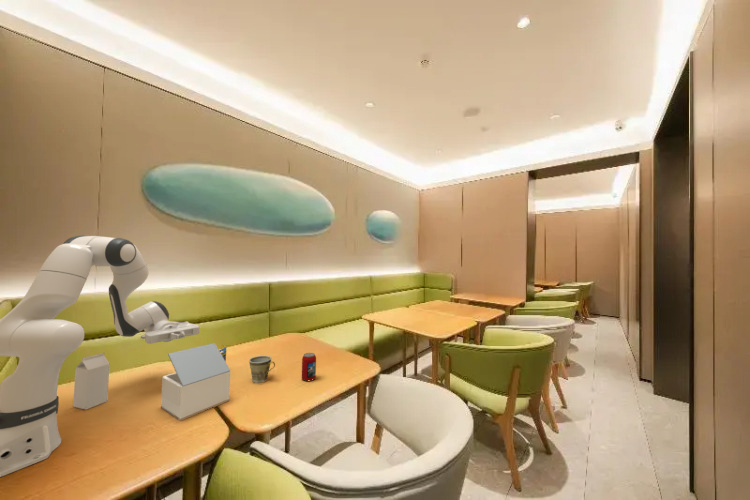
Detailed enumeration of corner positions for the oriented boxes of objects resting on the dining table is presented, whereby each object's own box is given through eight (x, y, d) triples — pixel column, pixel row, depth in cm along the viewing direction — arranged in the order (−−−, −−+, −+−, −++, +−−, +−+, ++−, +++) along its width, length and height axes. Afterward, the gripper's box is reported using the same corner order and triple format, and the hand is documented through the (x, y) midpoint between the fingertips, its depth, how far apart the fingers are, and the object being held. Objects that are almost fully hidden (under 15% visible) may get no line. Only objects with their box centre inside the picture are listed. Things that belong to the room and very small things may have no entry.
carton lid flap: (168, 354, 110) (168, 353, 109) (214, 344, 124) (214, 343, 124) (182, 386, 102) (183, 385, 102) (229, 371, 117) (230, 370, 117)
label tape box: (218, 369, 149) (219, 346, 150) (225, 370, 149) (226, 346, 149) (207, 376, 140) (208, 351, 141) (215, 377, 140) (216, 351, 141)
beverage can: (312, 382, 136) (312, 357, 136) (299, 381, 137) (299, 356, 138) (317, 377, 142) (318, 352, 143) (305, 375, 144) (305, 351, 144)
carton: (159, 408, 110) (161, 376, 110) (209, 390, 126) (210, 362, 126) (178, 421, 101) (180, 387, 102) (230, 400, 117) (231, 370, 118)
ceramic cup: (243, 382, 134) (244, 361, 134) (257, 374, 144) (258, 354, 144) (268, 386, 131) (268, 364, 131) (280, 377, 141) (280, 357, 141)
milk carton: (107, 401, 114) (110, 353, 115) (85, 410, 107) (88, 359, 108) (95, 398, 116) (98, 351, 117) (72, 407, 109) (76, 357, 110)
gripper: (139, 329, 122) (152, 334, 114) (191, 320, 139) (205, 324, 131) (138, 343, 121) (152, 350, 114) (190, 333, 139) (205, 338, 131)
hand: (181, 336), depth 123 cm, fingers closed
